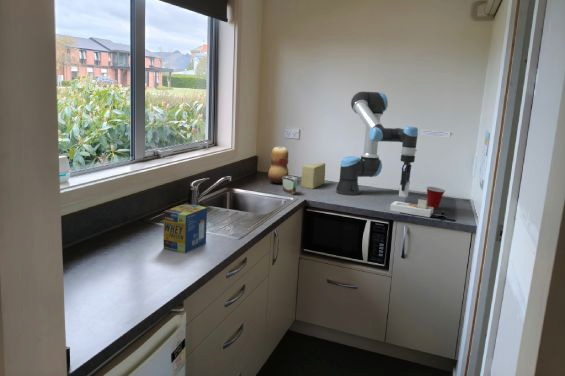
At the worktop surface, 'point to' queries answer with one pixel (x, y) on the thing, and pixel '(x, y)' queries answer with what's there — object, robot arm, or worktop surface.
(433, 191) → the plastic cup
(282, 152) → the butternut squash
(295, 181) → the food container
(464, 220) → the worktop surface
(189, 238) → the protein box
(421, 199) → the beige plug
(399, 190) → the grey plug
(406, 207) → the power strip
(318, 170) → the cheese
